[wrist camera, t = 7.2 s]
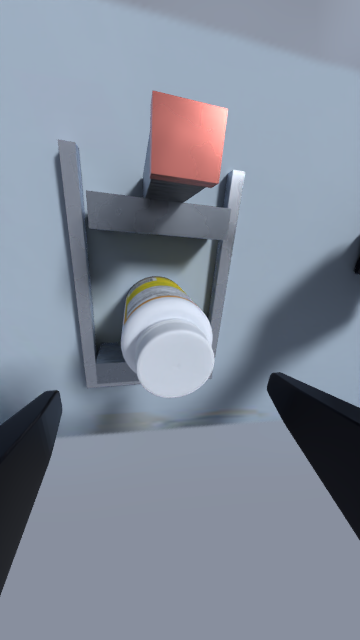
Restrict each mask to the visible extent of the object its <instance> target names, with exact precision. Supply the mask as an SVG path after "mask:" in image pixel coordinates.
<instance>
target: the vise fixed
mask: <svg viewBox="0 0 360 640" xmlns="http://www.w3.org/2000/svg"><path fill="white" fill-rule="evenodd" d="M58 146H59V155H60V163H61V172H62V180H63V189H64V197H65V206H66V214H67V223H68V231H69V240H70V248H71V257H72V265H73V274H74V282H75V291H76V299H77V308H78V316H79V325H80V333H81V342H82V350H83V359H84V367H85V376H86V384H87V388H95V387H108V386H121V385H133V384H141V383H140V382H139V380H138V377H137V374H136V373H135V372H134V371H133V370H132V369H131V368H130V367H129V366H128V364H127V363H126V361H125V359H124V357H123V354H122V349H121V342H119V343H101V347H100V350H99V353H98V357H97V348H96V337H95V326H94V314H93V303H92V291H91V280H90V268H89V257H88V246H87V234H86V223H85V211H84V200H83V189H82V177H81V166H80V154H79V148H78V146H77V145H76V143H75V142H69V141H64V140H58ZM244 177H245V172H243V171H237V170H232V171H231V172H229V173H228V176H227V183H226V190H225V198H224V205H223V208H229V209H231V215H230V221H229V228H228V235H227V240H219V241H218V249H217V256H216V263H215V270H214V278H213V285H212V292H211V300H210V307H209V314H208V320H209V322H210V325H211V328H212V335H213V340H212V346H211V347H212V349H213V353H214V360H215V354H216V348H217V342H218V336H219V330H220V323H221V317H222V311H223V305H224V299H225V293H226V287H227V281H228V274H229V268H230V262H231V256H232V250H233V244H234V238H235V232H236V226H237V219H238V213H239V207H240V201H241V195H242V189H243V183H244ZM212 372H213V370H212ZM211 378H212V373H211V374H210V376H209V378H208V379H211Z"/></svg>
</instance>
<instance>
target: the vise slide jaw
mask: <svg viewBox="0 0 360 640" xmlns="http://www.w3.org/2000/svg"><path fill="white" fill-rule="evenodd" d="M227 113H228V109H226V108H222V107H218V106H214V105H210V104H206V103H202V102H198V101H194V100H190V99H186V98H182V97H177V96H173V95H169V94H165V93H161V92H157V91H153V92H152V99H151V118H150V135H149V141H148V147H147V153H146V160H145V166H144V172H143V198H141V197H133V196H125V195H117V194H109V193H102V192H94V191H86V198H87V210H88V222H89V228H90V229H96V230H105V231H117V232H129V233H140V234H152V235H164V236H175V237H187V238H199V239H210V240H227V235H228V228H229V221H230V215H231V209H229V208H221V207H213V206H205V205H197V204H189V203H183V202H185V201H186V200H188V199H189V198H191V197H192V196H194V195H195V194H197V193H198V192H200V191H201V190H203V189H204V188H206V187H208V188H212V187H214V186H215V185H217V184H219V177H220V169H221V161H222V153H223V145H224V137H225V129H226V121H227Z"/></svg>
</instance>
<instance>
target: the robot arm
mask: <svg viewBox="0 0 360 640" xmlns="http://www.w3.org/2000/svg"><path fill="white" fill-rule="evenodd" d="M355 274H360V258H359V260H358V263H357V265H356V268H355ZM267 391H268V394H269V396H270V397H271V399H272V401H273V403H274V405H275V407H276V409H277V411H278V413H279V414H280V416H281V418H282V420H283V422H284V423H285V425H286V427H287V428H288V430H289V431H290V433H291V435H292V436H293V438H294V439H295V440H296V442H297V444H298V445H299V447H300V448H301V450H302V451H303V453H304V455H305V456H306V458H307V459H308V461H309V462H310V464H311V465H312V467H313V469H314V470H315V472H316V473H317V475H318V476H319V478H320V479H321V481H322V482H323V484H324V486H325V487H326V489H327V490H328V492H329V493H330V495H331V496H332V498H333V500H334V501H335V503H336V504H337V506H338V507H339V509H340V510H341V512H342V513H343V515H344V517H345V518H346V520H347V521H348V523H349V524H350V526H351V527H352V529H353V531H354V532H355V533H356V535H357V537H358V538H359V540H360V408H359V407H356V406H354V405H352V404H350V403H348V402H345V401H343V400H341V399H339V398H336V397H334V396H332V395H330V394H328V393H325V392H323V391H321V390H319V389H316V388H314V387H312V386H310V385H307V384H305V383H303V382H301V381H299V380H296V379H294V378H292V377H290V376H287V375H285V374H283V373H280V372H277V373H272V374H271V375H270V378H269V382H268V385H267ZM61 415H62V403H61V398H60V393H59V391H58V390H52V391H45V392H44V393H42V394H41V395H40V396H38V397H37V398H36V399H35V400H33V401H32V402H31V403H29V404H28V405H27V406H25V407H24V408H23V409H21V410H20V411H19V412H17V413H16V414H15V415H13V416H12V417H11V418H9V419H8V420H7V421H6V422H4V423H3V424H2V425H0V595H1V592H2V589H3V587H4V584H5V581H6V579H7V576H8V573H9V570H10V567H11V565H12V562H13V559H14V557H15V554H16V551H17V548H18V546H19V543H20V540H21V538H22V535H23V532H24V529H25V526H26V524H27V521H28V518H29V515H30V513H31V510H32V507H33V505H34V502H35V499H36V497H37V494H38V491H39V488H40V486H41V483H42V480H43V477H44V475H45V472H46V469H47V466H48V464H49V460H50V458H51V454H52V450H53V447H54V443H55V439H56V435H57V431H58V427H59V423H60V419H61Z"/></svg>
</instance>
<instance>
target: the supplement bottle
mask: <svg viewBox="0 0 360 640" xmlns="http://www.w3.org/2000/svg"><path fill="white" fill-rule="evenodd" d="M212 340H213V335H212V328H211V325H210V322H209V320H208V318H207V317H206V315H205V314H204V313H203V311H202V310H201V309H200V308H199V307H198V306H197V305H196V304H195V303H194V302H193V301H192V300H191V299H190V298H189V297H188V295H187V294H186V293H185V292H184V291H183V290H182V289H181V288H180V287H179V286H178V285H177V284H176V283H175V282H173V281H172V280H170V279H168V278H165V277H160V276H152V277H147V278H144V279H142V280H140V281H138V282H137V283H136V284H135V285H134V286H133V287H132V288H131V289H130V291H129V292H128V295H127V297H126V301H125V309H124V318H123V327H122V335H121V349H122V354H123V357H124V359H125V361H126V363H127V364H128V366H129V367H130V368H131V369H132V370H133V371H134V372H135V373H136V374H137V377H138V380H139V382H140V383H141V385H142V386H143V387H144V388H145V389H146V390H147V391H148V392H150V393H152V394H154V395H156V396H159V397H165V398H176V397H181V396H185V395H187V394H190V393H192V392H194V391H195V390H197V389H198V388H200V387H201V386H202V385H203V384H204V383H205V382H206V381H207V379H208V378H209V376H210V374H211V373H212V370H213V366H214V353H213V349H212V347H211V346H212Z"/></svg>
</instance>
